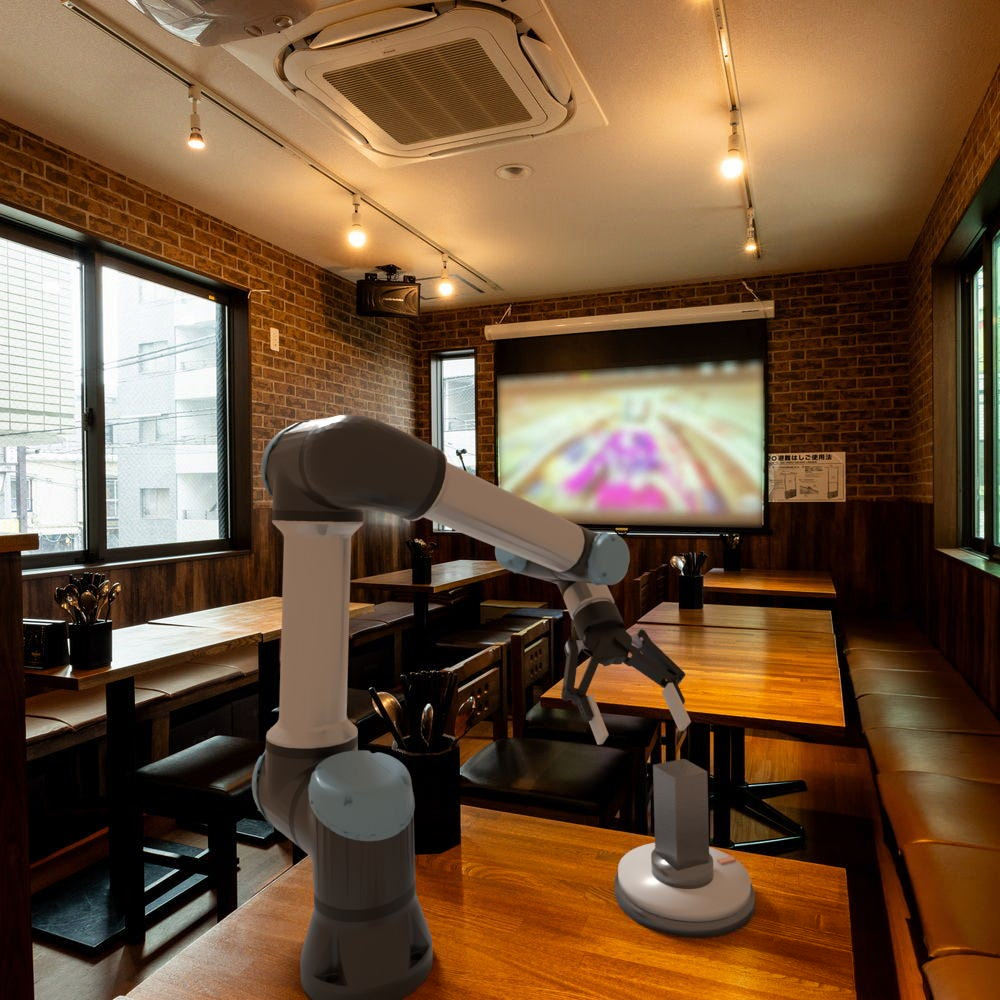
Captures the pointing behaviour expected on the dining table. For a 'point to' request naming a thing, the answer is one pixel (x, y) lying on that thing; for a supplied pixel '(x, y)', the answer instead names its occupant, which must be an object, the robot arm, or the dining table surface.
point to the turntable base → (686, 927)
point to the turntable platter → (685, 904)
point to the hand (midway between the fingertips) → (645, 733)
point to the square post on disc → (681, 826)
